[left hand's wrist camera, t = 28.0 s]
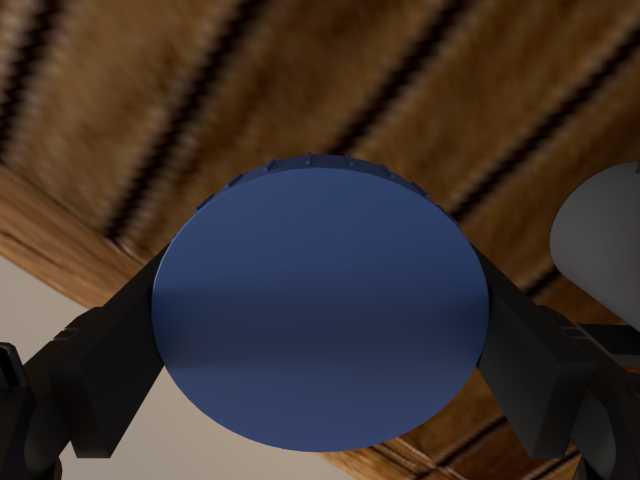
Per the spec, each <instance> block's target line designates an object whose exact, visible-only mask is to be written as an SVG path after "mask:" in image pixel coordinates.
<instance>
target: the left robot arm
mask: <svg viewBox="0 0 640 480" xmlns="http://www.w3.org/2000/svg"><path fill="white" fill-rule="evenodd" d="M170 243H171V242H170ZM170 243H169V244H168V245H167V246H166V247H164V248H163V249H162V250H161V251H160V252H159V253H158V254H157V255H156V256H155V257H154V258H153V259H152V260H151V261H150V262H149V263H148V264H147V265H146V266H145V267H143V268H142V269H141V270H140V271H139V272H138V273H137V274H136V275H135V276H134V277H133V278H132V279H131V280H130V281H129V282H128V283H127V284H126V285H125V286H124V287H122V288H121V289H120V290H119V291H118V292H117V293H116V294H115V295H114V296H113V297H112V298H111V299H110V300H109V301H108V302H107V303H106V304H105V305H104V306H103V307H94V308H92V309H90V310H89V311H87V312H85V313H83V314H81V315H80V316H78V317H77V318H75V319H74V320H73V321H72V322H71V323H70V324H69V325H68V326H67V327H65V328H64V331H61V332H60V333H59V334H57V335H56V336H55V337H54V338H53V341H50V342H49V343H47V344H46V345H45V346H44V347H43V348H42V349H41V350H40V351H38V352H37V353H36V354H35V355H34V356H33V357H32V358H31V359H30V360H28V361H27V362H26V363H25V364H24V365H22V363H21V360H20V357H19V355H18V353H17V350H16V348H15V346H14V345H12V344H10V343H5V342H0V480H61V477H62V465H61V461H60V459H59V455H60V454H61V452H62V451H63V449H64V448H65V447H66V445H67V444H68V443H69V441H71V443H72V446H73V449H74V451H75V454H76V457H77V458H110V457H111V455H112V454H113V452H114V450H115V449H116V447H117V445H118V443H119V442H120V440H121V438H122V437H123V435H124V433H125V431H126V430H127V428H128V426H129V425H130V423H131V421H132V420H133V418H134V416H135V414H136V413H137V411H138V409H139V408H140V406H141V404H142V402H143V401H144V399H145V397H146V396H147V394H148V392H149V391H150V389H151V387H152V385H153V384H154V382H155V380H156V379H157V377H158V375H159V373H160V372H161V370H162V368H163V367H164V363H163V361H162V359H161V356H160V354H159V351H158V348H157V345H156V341H155V337H154V332H153V326H152V319H151V303H152V293H153V287H154V282H155V277H156V275H157V272H158V269H159V266H160V263H161V260H162V258H163V256H164V254H165V253H166V251H167V249H168V247H169V245H170ZM469 243H470V242H469ZM470 244H471V246H472V248H473V250H474V251H475V253H476V255H477V257H478V259H479V262H480V264H481V267H482V270H483V273H484V275H485V279H486V284H487V289H488V294H489V323H488V329H487V334H486V338H485V343H484V347H483V350H482V353H481V355H480V358H479V360H478V362H477V364H476V366H477V368H478V370H479V371H480V373H481V375H482V376H483V378H484V380H485V382H486V383H487V385H488V387H489V388H490V390H491V392H492V394H493V395H494V397H495V399H496V400H497V402H498V404H499V405H500V407H501V409H502V411H503V412H504V414H505V416H506V417H507V419H508V421H509V423H510V424H511V426H512V428H513V429H514V431H515V433H516V435H517V436H518V438H519V440H520V441H521V443H522V445H523V446H524V448H525V450H526V452H527V453H528V455H529V457H530V458H564V455H565V452H566V450H567V447H568V444H569V441H570V439H571V440H572V442H573V443H574V444H575V446H576V447H577V448H578V450H579V451H580V453H581V454H582V456H581V458H580V461H579V464H578V466H577V469H576V471H575V474H574V476H573V479H572V480H640V374H635V373H627V372H626V371H625V370H624V369H623V368H622V367H621V366H620V365H618V364H617V363H616V362H615V361H614V360H613V359H612V358H611V357H609V356H608V355H607V354H606V353H605V352H604V351H603V350H602V349H600V348H599V347H598V346H597V345H596V344H595V343H594V342H593V341H591V340H590V339H587V336H586V335H585V334H584V333H582V332H581V331H580V330H577V329H576V326H575V325H573V324H572V323H571V322H570V321H569V320H568V319H567V318H566V317H564V316H563V315H561V314H560V313H558V312H556V311H554V310H552V309H550V308H549V307H547V306H537V305H536V304H535V303H534V302H532V301H531V300H530V299H529V298H528V297H527V296H526V295H525V294H524V293H523V292H522V291H521V290H520V289H519V288H518V287H517V286H516V285H515V284H514V283H513V282H511V281H510V280H509V279H508V278H507V277H506V276H505V275H504V274H503V273H502V272H501V271H500V270H499V269H498V268H497V267H496V266H495V265H494V264H493V263H492V262H490V261H489V260H488V259H487V258H486V257H485V256H484V255H483V254H482V253H481V252H480V251H479V250H478V249H477V248H476V247H475V246H474V245H473V244H472V243H470Z"/></svg>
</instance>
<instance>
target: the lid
mask: <svg viewBox="0 0 640 480" xmlns="http://www.w3.org/2000/svg"><path fill="white" fill-rule="evenodd" d="M429 197H430V195H428V194H427V193H426V192H425V191H424V190H423V189H422V188H420V187H419V186H418V185H417V184H416V183H415V182H412V183H409V182H408V181H407V180H405V179H404V178H402V177H401V176H399V175H397V174H395V173H393V172H391V171H390V170H389V169H388V168H387V167H386V166H385V165H383V164H381V166H378V165H375V164H372V163H369V162H366V161H363V160H360V159H355V158H350V156H349V154H345V157H344V156H336V155H312V154H311V152H308V154H307V155H305V156H296V157H291V158H286V159H281V160H277V161H275V159H271V160H270V161H269V163H268V164H265V165H263V166H260V167H257V168H255V169H253V170H251V171H249V172H247V173H246V174H244V175H242V174H241V173H240V174H238V175H237V176H236V177H235V178H233V179H232V180H231V181H230V182H229V183H228V184H227V185H226V186H225V187H224V188H223V189H222V190H221V191H219V192H218V193H217V194H216V195H213V194H212V195H211V196H210V197H208V198H207V199H206V200H205V201H204V202H203V203H202V204H200V205H199V206H198V207H197V208H196V209H195V210H194V212H196V214H195V215H194V216H193V217H192V218H190V219H189V220H188V221H187V222H186V223H185V224H184V226H183V227H182V228H181V230H180V231H179V232H178V233H177V234H176V235H175V236H174V237H173V238H172V241H171V243H170V245H169V247H168V249H167V251H166V253H165V254H164V256H163V258H162V260H161V263H160V266H159V269H158V272H157V275H156V277H155V282H154V287H153V293H152V303H151V319H152V326H153V332H154V337H155V341H156V345H157V348H158V351H159V354H160V356H161V359H162V361H163V363H164V365H165V367H166V369H167V371H168V373H169V374H170V376H171V377H172V379H173V380H174V382H175V383H176V385H177V386H178V387H179V389H180V390H181V391H182V392H183V393H184V395H185V396H186V397H187V398H188V399H189V400H190V401H191V402H192V403H193V404H194V405H195V406H196V407H197V408H198V409H200V410H201V411H202V412H203V413H204V414H206V415H207V416H208V417H210V418H211V419H213V420H214V421H215V422H217V423H218V424H220V425H222V426H224V427H225V428H227V429H229V430H230V431H232V432H234V433H237V434H239V435H241V436H243V437H246V438H248V439H250V440H253V441H256V442H259V443H262V444H265V445H269V446H273V447H278V448H282V449H288V450H295V451H303V452H337V451H346V450H353V449H359V448H363V447H367V446H371V445H375V444H379V443H381V442H384V441H387V440H390V439H393V438H395V437H397V436H400V435H402V434H404V433H406V432H408V431H410V430H412V429H414V428H415V427H417V426H419V425H420V424H422V423H424V422H425V421H427V420H428V419H429V418H431V417H432V416H433V415H435V414H436V413H437V412H439V411H440V410H441V409H442V408H443V407H444V406H445V405H446V404H447V403H449V402H450V401H451V400H452V399H453V398H454V397H455V395H456V394H457V393H458V392H459V390H460V389H461V388H462V387H463V386H464V384H465V383H466V381H467V380H468V378H469V377H470V375H471V373H472V372H473V370H474V369H475V366H476V364H477V362H478V360H479V358H480V355H481V353H482V350H483V347H484V343H485V338H486V334H487V329H488V323H489V294H488V289H487V284H486V279H485V275H484V273H483V270H482V267H481V264H480V262H479V259H478V257H477V255H476V253H475V251H474V250H473V248H472V246H471V244H470V243H469V241H468V239H467V238H466V237H465V235H464V234H463V233H462V231H461V230H460V229H459V228H458V226H457V225H456V224H457V222H456V220H455V219H453V218H452V217H451V216H450V215H449V214H448V213H447V212H446V211H444V210H443V209H442V208H441V207H440V206H439V205H435V204H434V203H433V202H432V201H431V200H430V199H429Z"/></svg>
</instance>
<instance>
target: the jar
mask: <svg viewBox="0 0 640 480" xmlns="http://www.w3.org/2000/svg"><path fill="white" fill-rule="evenodd" d="M638 163H639V161H633V162H627V163H623V164H619V165H615V166H613V167H610V168H608V169H605V170H603V171H601V172H599V173H597V174H595V175H594V176H592V177H591V178H589V179H588V180H586V181H585V182H584V183H583V184H581V185H580V186H579V187H578V188H577V189H576V190H575V191H574V192H573V193H572V194H571V195H570V196H569V197H568V198H567V200H566V201H565V202H564V204H563V205H562V207H561V208H560V210H559V212H558V213H557V215H556V217H555V220H554V223H553V225H552V229H551V233H550V252H551V256H552V259H553V261H554V264H555V265H556V267H557V268H558V270H559V271H560V272H561V273H562V274H563V275H564V276H565V277H566V278H568V279H569V280H570V281H572V282H573V283H574V284H576V285H577V286H578V287H580V288H581V289H583V290H584V291H585V292H587V293H588V294H589V295H591V296H592V297H593V298H595V299H596V300H597V301H599V302H600V303H601V304H603V305H604V306H605V307H607V308H608V309H609V310H611V311H612V312H613V313H615V314H616V315H617V316H619V317H620V318H621V319H623V320H624V321H625V322H627V323H628V324H629V325H631V326H632V327H633V328H635V329H636V330H638V331H639V332H640V174H637V173H635V171H636V168H637V166H638Z"/></svg>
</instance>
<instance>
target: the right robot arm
mask: <svg viewBox="0 0 640 480" xmlns="http://www.w3.org/2000/svg"><path fill="white" fill-rule="evenodd" d="M635 173H637V174H640V160H639V163H638V166H637V168H636V171H635ZM576 329H577V330H580V331H581V332H582V333H584V334H585V335H586V336H587V339H590V340H591V341H593V342H594V343H595V344H596V345H597V346H598V347H599V348H600V349H602V350H603V351H604V352H605V353H606V354H607V355H608V356H609V357H611V358H612V359H613V360H614V361H615V362H616V363H617V364H618V365H620V366H633V367H640V332H639V331H638V330H636V329H635V328H633V327H632V326H627V325H602V324H577V326H576Z"/></svg>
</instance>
